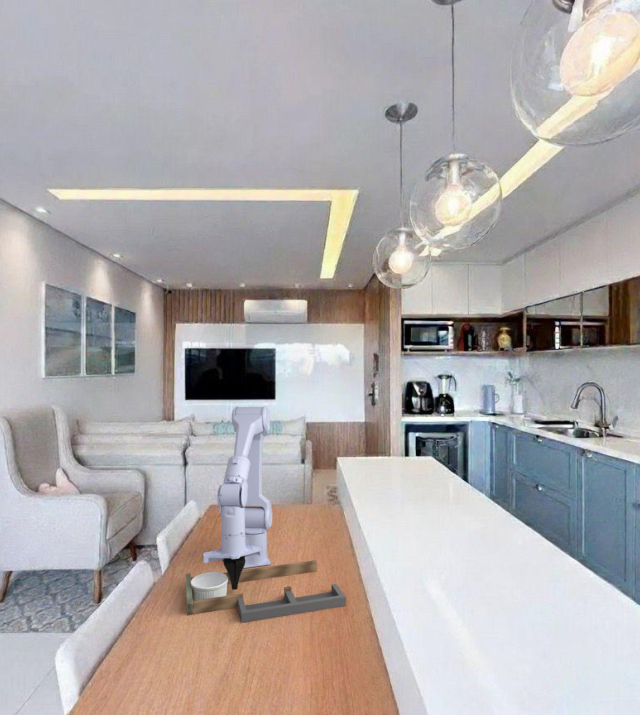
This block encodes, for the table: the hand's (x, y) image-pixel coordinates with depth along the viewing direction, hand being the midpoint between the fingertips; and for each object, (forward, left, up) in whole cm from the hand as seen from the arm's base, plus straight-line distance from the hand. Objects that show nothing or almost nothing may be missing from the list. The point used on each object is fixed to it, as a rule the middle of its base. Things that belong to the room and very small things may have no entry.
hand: (234, 587), depth 122 cm
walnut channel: (+6, 0, -1) cm, 6 cm away
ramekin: (-6, 0, -2) cm, 6 cm away
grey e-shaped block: (+12, -11, -1) cm, 16 cm away
